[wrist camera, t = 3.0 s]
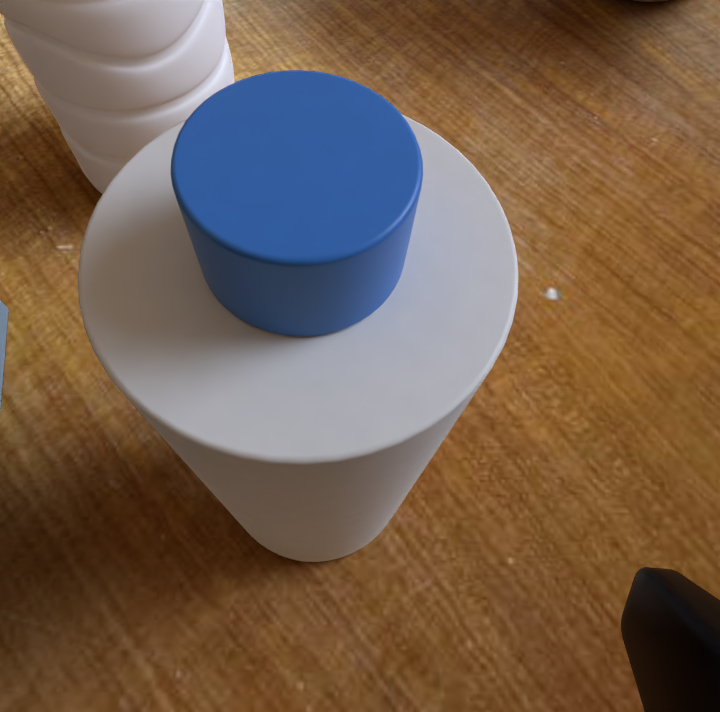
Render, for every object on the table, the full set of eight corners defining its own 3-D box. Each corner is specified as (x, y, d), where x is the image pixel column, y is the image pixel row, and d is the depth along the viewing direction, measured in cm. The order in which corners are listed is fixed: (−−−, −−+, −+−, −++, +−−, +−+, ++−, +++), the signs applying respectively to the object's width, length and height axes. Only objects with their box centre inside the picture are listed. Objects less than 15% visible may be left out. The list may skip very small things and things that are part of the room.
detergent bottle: (420, 544, 17) (653, 366, 5) (234, 577, 17) (-17, 466, 4) (385, 376, 20) (488, -31, 7) (219, 399, 19) (26, -6, 7)
